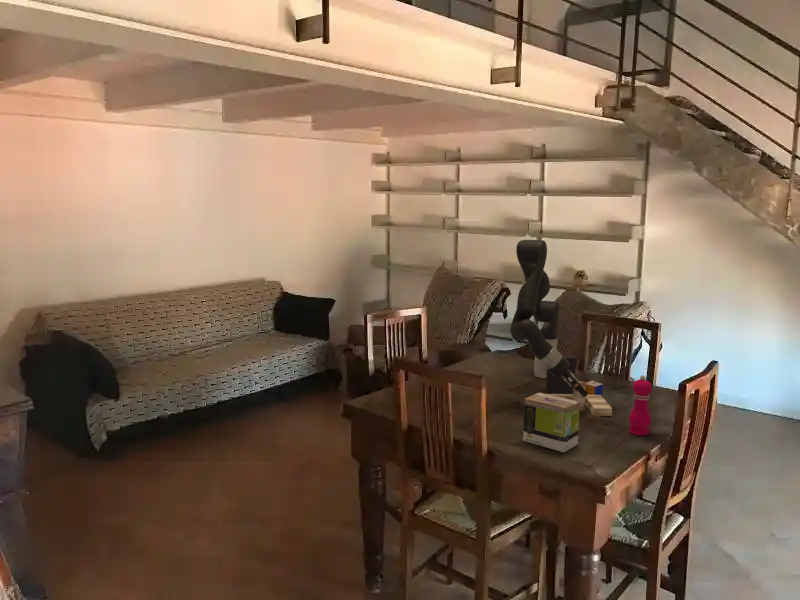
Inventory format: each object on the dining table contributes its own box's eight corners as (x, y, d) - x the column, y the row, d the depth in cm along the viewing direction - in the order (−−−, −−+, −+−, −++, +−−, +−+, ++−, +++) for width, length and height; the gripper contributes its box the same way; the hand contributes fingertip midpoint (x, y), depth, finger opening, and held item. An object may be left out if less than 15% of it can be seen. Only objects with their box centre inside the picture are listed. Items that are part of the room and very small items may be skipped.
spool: (569, 406, 250) (570, 380, 248) (583, 406, 250) (584, 381, 248) (572, 411, 245) (574, 385, 243) (586, 411, 245) (588, 385, 243)
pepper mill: (632, 426, 229) (636, 371, 226) (653, 431, 225) (657, 375, 221) (624, 432, 224) (628, 375, 220) (645, 437, 219) (650, 379, 216)
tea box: (578, 444, 213) (581, 400, 211) (563, 453, 206) (566, 408, 203) (537, 433, 223) (539, 390, 221) (521, 441, 216) (523, 397, 213)
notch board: (547, 401, 256) (548, 393, 255) (600, 402, 255) (600, 394, 255) (556, 415, 240) (556, 407, 239) (611, 416, 239) (612, 408, 239)
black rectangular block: (572, 391, 269) (574, 355, 266) (574, 394, 265) (576, 358, 262) (545, 390, 270) (547, 354, 267) (546, 393, 266) (548, 357, 263)
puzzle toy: (592, 393, 266) (592, 380, 265) (602, 397, 262) (603, 383, 261) (583, 396, 262) (583, 382, 261) (593, 399, 258) (594, 385, 257)
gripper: (565, 359, 237) (596, 391, 239) (557, 349, 251) (586, 379, 253) (549, 373, 238) (580, 405, 240) (542, 363, 252) (571, 392, 254)
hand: (583, 391), depth 246 cm, fingers open, 8 cm apart
